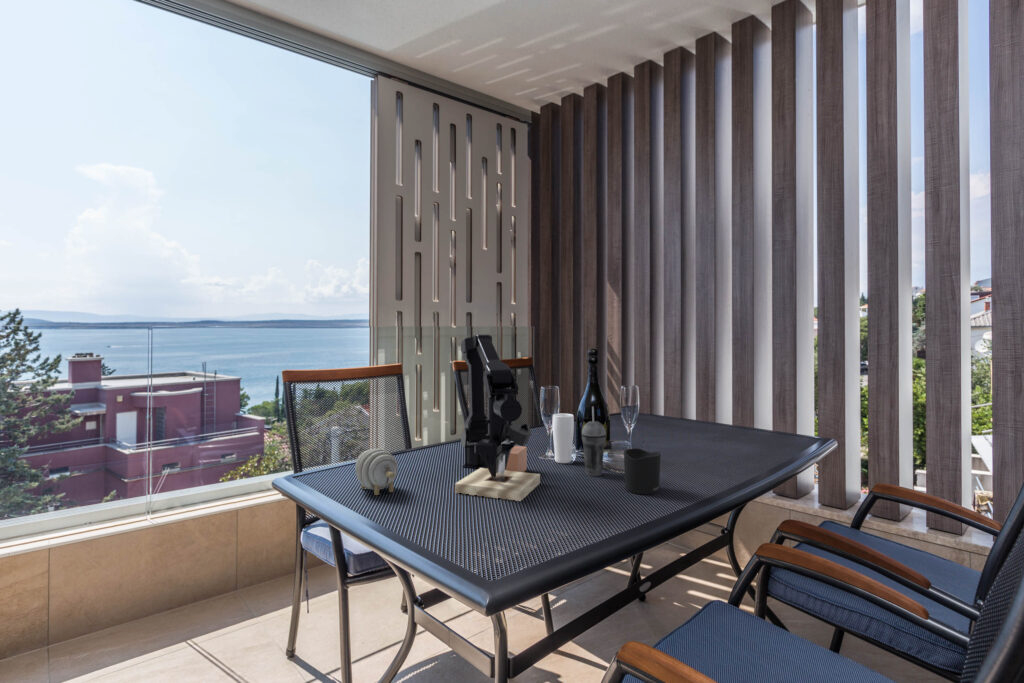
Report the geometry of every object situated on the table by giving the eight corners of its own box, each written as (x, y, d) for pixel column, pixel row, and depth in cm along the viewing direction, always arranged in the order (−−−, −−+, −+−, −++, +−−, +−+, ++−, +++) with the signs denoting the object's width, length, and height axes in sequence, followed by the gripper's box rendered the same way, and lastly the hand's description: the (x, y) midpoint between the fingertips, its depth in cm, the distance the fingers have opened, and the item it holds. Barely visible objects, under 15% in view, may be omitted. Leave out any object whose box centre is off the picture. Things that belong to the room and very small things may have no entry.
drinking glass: (573, 459, 170) (573, 413, 170) (573, 464, 163) (574, 417, 163) (552, 458, 171) (552, 413, 170) (552, 464, 164) (552, 416, 164)
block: (496, 476, 152) (496, 452, 152) (506, 467, 160) (506, 445, 160) (517, 478, 150) (517, 453, 150) (526, 469, 158) (526, 446, 158)
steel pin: (491, 489, 139) (491, 455, 139) (495, 485, 142) (495, 452, 142) (502, 490, 138) (502, 456, 138) (506, 486, 141) (506, 453, 141)
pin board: (455, 493, 136) (455, 483, 136) (480, 476, 151) (480, 467, 151) (520, 501, 130) (520, 491, 130) (540, 483, 145) (540, 474, 145)
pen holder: (631, 496, 133) (631, 457, 133) (618, 485, 143) (618, 448, 142) (666, 494, 135) (666, 456, 135) (651, 483, 144) (651, 447, 144)
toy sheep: (377, 480, 147) (377, 441, 147) (413, 493, 136) (413, 451, 135) (343, 488, 140) (342, 447, 139) (377, 503, 128) (377, 458, 128)
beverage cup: (609, 472, 155) (609, 405, 155) (602, 478, 149) (602, 408, 148) (585, 469, 158) (585, 403, 158) (577, 475, 152) (578, 406, 151)
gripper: (514, 423, 128) (514, 486, 129) (538, 411, 146) (538, 467, 146) (473, 420, 132) (473, 481, 133) (501, 409, 150) (501, 463, 150)
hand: (498, 473), depth 140 cm, fingers open, 7 cm apart
